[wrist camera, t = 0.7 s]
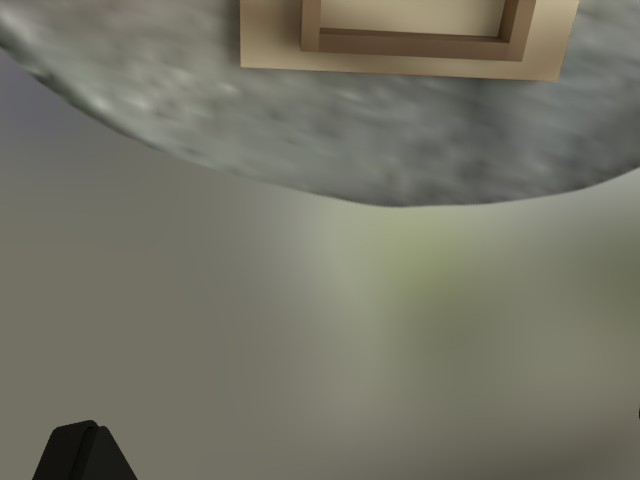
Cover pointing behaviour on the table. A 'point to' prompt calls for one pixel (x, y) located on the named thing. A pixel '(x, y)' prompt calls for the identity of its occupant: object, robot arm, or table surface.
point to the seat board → (409, 36)
